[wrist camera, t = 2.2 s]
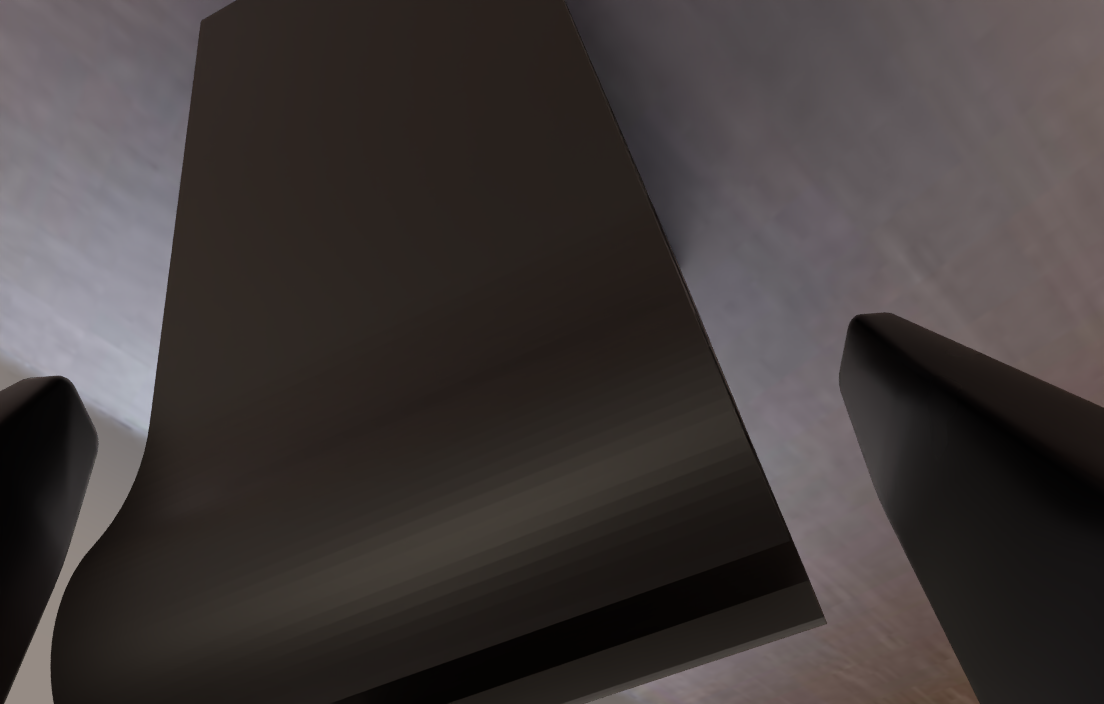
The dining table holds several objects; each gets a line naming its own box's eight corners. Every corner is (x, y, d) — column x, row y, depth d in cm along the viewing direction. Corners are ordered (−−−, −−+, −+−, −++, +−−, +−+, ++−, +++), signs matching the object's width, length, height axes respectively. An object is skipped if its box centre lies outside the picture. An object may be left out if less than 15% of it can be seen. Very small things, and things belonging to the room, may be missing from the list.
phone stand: (207, 13, 14) (-468, 459, 4) (502, -153, 13) (534, -82, 3) (450, 372, 19) (403, 977, 9) (682, 273, 18) (922, 840, 8)
